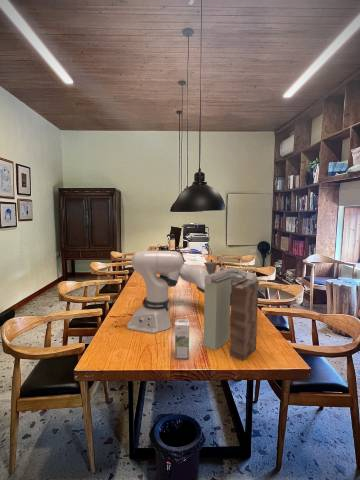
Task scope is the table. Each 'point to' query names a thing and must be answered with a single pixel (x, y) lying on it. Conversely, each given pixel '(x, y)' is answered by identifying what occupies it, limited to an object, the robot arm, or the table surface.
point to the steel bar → (220, 275)
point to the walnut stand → (243, 319)
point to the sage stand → (217, 313)
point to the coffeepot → (211, 266)
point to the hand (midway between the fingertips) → (229, 269)
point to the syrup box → (181, 339)
